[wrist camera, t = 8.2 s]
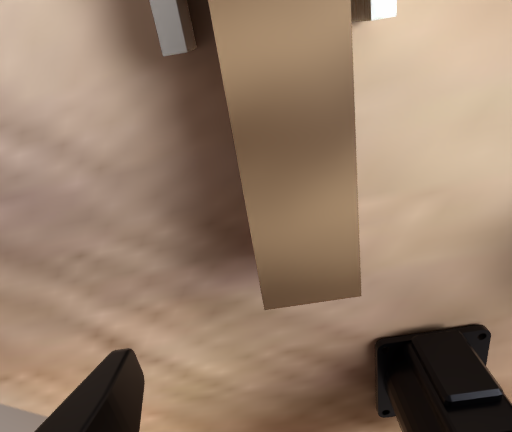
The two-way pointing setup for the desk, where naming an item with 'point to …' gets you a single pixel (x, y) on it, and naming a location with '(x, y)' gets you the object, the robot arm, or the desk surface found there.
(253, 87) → the rail
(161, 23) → the bracket
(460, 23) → the desk surface
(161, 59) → the desk surface
